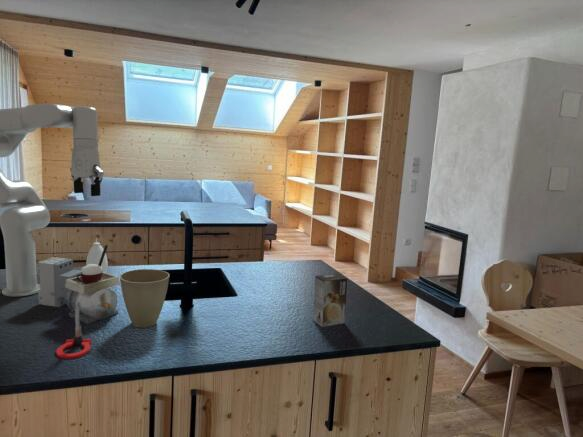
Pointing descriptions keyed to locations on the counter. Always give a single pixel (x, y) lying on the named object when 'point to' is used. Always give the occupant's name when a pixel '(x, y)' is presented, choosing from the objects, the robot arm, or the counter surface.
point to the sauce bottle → (97, 256)
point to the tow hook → (75, 340)
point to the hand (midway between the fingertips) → (87, 194)
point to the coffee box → (330, 299)
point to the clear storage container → (92, 298)
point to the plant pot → (144, 295)
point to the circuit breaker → (55, 280)
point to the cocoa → (92, 271)
